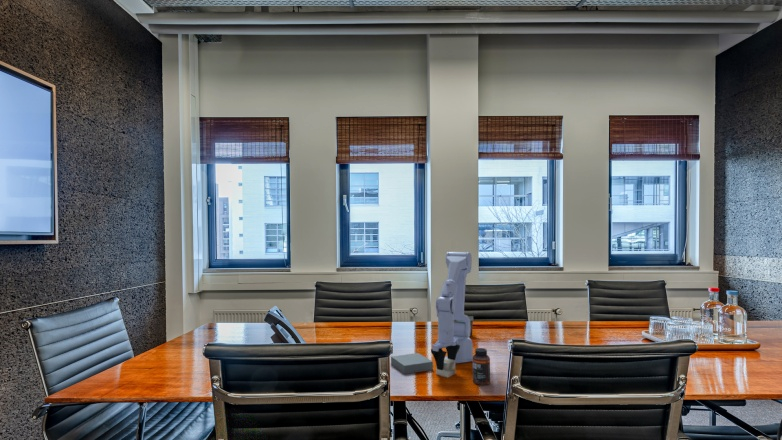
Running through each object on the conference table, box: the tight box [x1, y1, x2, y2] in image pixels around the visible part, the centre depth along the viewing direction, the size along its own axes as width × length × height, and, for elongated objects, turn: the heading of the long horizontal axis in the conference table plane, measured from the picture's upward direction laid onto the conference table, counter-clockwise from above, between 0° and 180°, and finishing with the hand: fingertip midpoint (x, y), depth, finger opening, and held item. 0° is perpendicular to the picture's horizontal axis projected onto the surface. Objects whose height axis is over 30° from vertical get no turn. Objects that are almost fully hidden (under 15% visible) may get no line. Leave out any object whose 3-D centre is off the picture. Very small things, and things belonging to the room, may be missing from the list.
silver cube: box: [435, 358, 456, 378], centre depth 149 cm, size 5×5×5 cm
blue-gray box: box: [390, 352, 434, 375], centre depth 156 cm, size 12×12×3 cm
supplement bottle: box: [472, 347, 491, 386], centre depth 141 cm, size 6×6×11 cm
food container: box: [456, 314, 474, 337], centre depth 208 cm, size 12×6×10 cm, turn 17°
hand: (445, 366), depth 149 cm, fingers open, 7 cm apart
